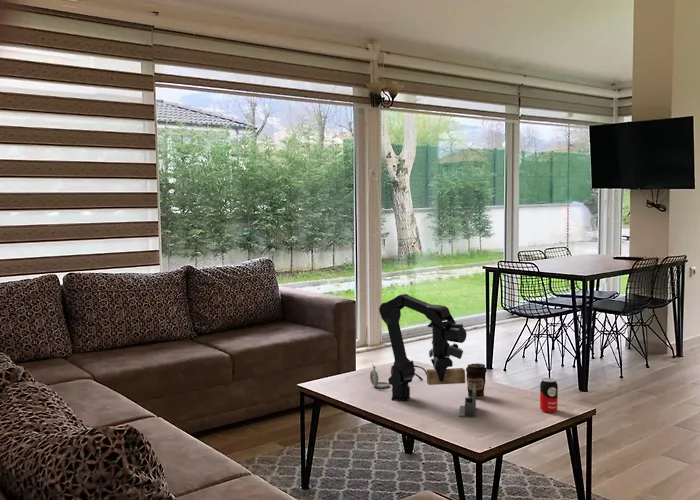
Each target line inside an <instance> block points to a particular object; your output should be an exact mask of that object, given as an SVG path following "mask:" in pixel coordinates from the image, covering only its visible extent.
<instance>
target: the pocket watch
mask: <svg viewBox="0 0 700 500" xmlns="http://www.w3.org/2000/svg"><path fill="white" fill-rule="evenodd" d="M372 368H373V369H372V370H370V372H369V379H370V383H371V385H372V386H374V387H375V388H377V389H384V388H385V389H386V388H389V387H390V384H389V382H385V381H380V382H379V374H378V371H377V370H376V365H374V364H372Z"/></svg>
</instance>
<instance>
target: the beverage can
mask: <svg viewBox="0 0 700 500" xmlns="http://www.w3.org/2000/svg"><path fill="white" fill-rule="evenodd" d="M539 385H540V386H539V388H540V389H539V391H540V392H539V394H540V395H539V408H540V410H541V411H542V412H543V413H547V414H552V413H555V412H557V410H558V406H559V405H558V403H559V402H558V401H559V400H558V397H559V395H558V394H559V393H558V390H559V389H558V388H559V386H558V383H557V379H555V378H552V377H544V378H541V382H540V384H539Z"/></svg>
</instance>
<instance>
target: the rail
mask: <svg viewBox="0 0 700 500" xmlns="http://www.w3.org/2000/svg"><path fill="white" fill-rule="evenodd" d="M426 372H427V375H426V384H428V385H429V386H433V385H434V386H436V385H458V384H466V369H464V368H463V367H457V368H446V371H445V375H444V379H443V381H442V382H441V381H440V380H439V377H438V374H437V372H436V369H426Z"/></svg>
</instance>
